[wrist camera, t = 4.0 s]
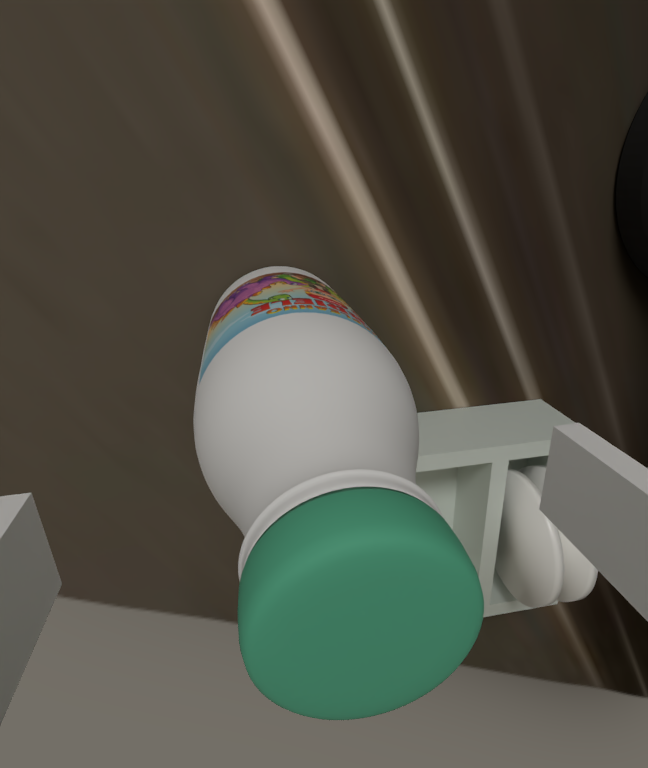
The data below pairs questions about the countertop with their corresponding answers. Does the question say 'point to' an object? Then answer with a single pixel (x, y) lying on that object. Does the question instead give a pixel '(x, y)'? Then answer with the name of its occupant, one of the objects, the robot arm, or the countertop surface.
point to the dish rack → (502, 501)
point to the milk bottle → (327, 504)
